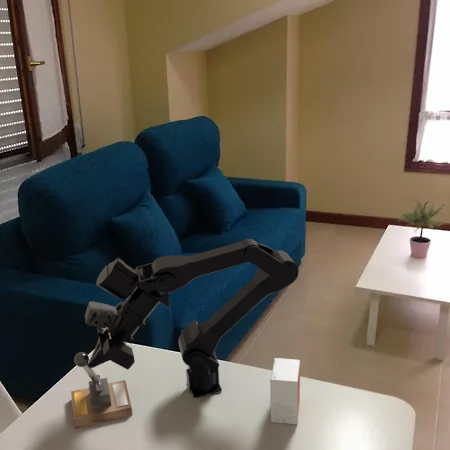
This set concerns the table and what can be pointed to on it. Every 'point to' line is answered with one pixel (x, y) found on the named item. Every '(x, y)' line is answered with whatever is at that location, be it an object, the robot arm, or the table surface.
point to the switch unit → (100, 403)
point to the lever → (88, 369)
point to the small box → (285, 391)
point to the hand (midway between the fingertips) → (90, 365)
